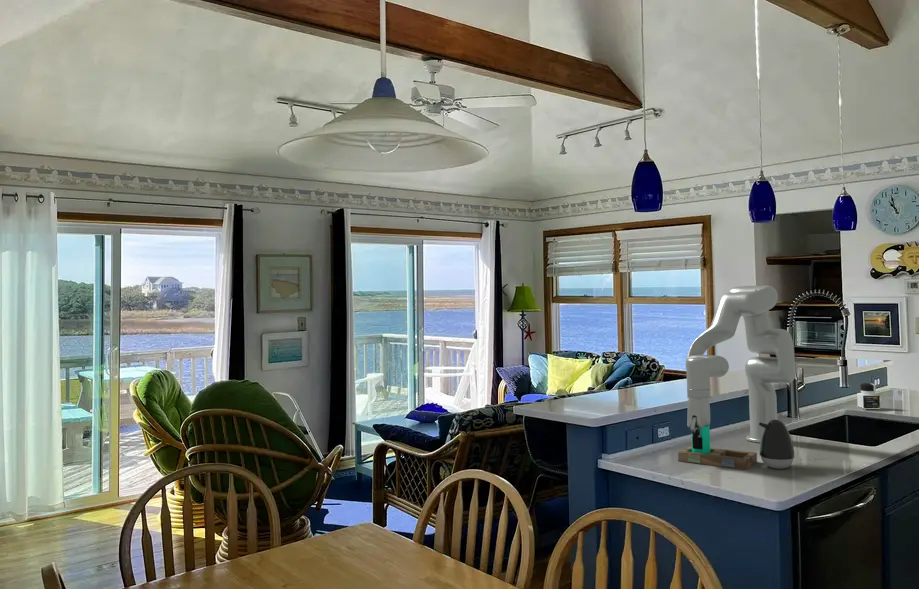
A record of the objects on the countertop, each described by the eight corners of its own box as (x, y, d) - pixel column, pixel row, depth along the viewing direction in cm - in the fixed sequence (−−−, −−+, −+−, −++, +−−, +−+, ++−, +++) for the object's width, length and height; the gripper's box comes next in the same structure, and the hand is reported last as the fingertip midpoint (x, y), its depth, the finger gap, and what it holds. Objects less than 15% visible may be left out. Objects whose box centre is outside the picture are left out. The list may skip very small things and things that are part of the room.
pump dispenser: (754, 463, 224) (752, 417, 224) (786, 462, 224) (784, 416, 224) (767, 471, 214) (765, 422, 214) (800, 470, 214) (799, 422, 214)
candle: (688, 454, 234) (687, 419, 234) (702, 452, 236) (700, 418, 236) (700, 458, 228) (699, 422, 229) (714, 456, 231) (713, 420, 231)
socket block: (691, 454, 240) (690, 445, 240) (756, 461, 226) (756, 452, 227) (678, 461, 230) (677, 452, 230) (746, 469, 217) (745, 460, 217)
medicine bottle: (863, 410, 316) (862, 384, 316) (857, 408, 323) (856, 382, 323) (880, 410, 315) (879, 384, 315) (873, 407, 322) (872, 382, 322)
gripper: (696, 390, 241) (698, 441, 241) (678, 396, 228) (680, 450, 228) (718, 391, 237) (720, 443, 237) (701, 397, 223) (703, 453, 223)
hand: (700, 446), depth 232 cm, fingers closed on candle, 5 cm apart
